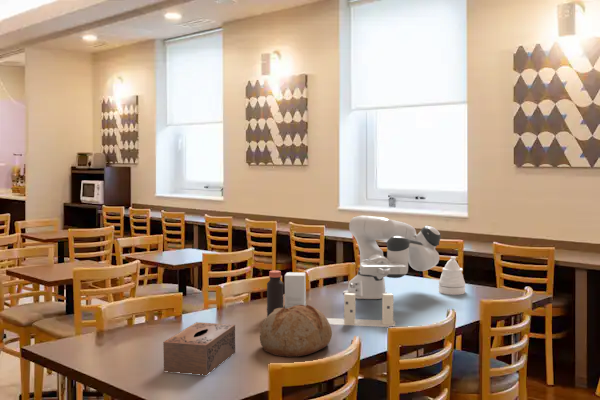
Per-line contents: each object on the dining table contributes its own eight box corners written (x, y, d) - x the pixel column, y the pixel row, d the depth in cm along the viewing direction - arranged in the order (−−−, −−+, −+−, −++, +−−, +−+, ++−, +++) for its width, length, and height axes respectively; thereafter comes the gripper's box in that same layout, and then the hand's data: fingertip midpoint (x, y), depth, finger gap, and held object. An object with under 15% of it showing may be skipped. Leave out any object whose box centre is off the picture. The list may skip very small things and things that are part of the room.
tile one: (382, 322, 271) (382, 293, 270) (392, 322, 271) (392, 293, 270) (383, 324, 268) (383, 295, 267) (393, 324, 268) (393, 295, 267)
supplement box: (306, 304, 307) (306, 272, 306) (304, 308, 298) (304, 275, 297) (286, 304, 308) (286, 271, 307) (284, 308, 299) (284, 275, 298)
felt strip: (305, 324, 271) (305, 323, 270) (308, 318, 280) (308, 317, 280) (394, 328, 264) (394, 327, 264) (395, 321, 274) (395, 320, 274)
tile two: (345, 322, 272) (345, 293, 272) (355, 322, 271) (355, 293, 271) (344, 324, 269) (344, 294, 268) (353, 324, 268) (354, 295, 267)
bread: (297, 334, 255) (297, 295, 254) (345, 346, 240) (345, 304, 239) (247, 349, 236) (246, 307, 235) (296, 363, 220) (296, 318, 219)
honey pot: (467, 294, 328) (468, 258, 327) (441, 294, 328) (441, 258, 327) (461, 289, 341) (462, 254, 339) (436, 289, 341) (437, 254, 340)
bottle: (269, 321, 276) (268, 273, 274) (265, 317, 282) (265, 270, 281) (285, 320, 278) (285, 272, 276) (281, 316, 284) (281, 269, 283)
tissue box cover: (206, 376, 207) (206, 345, 207) (163, 373, 211) (163, 342, 210) (235, 353, 232) (235, 324, 231) (196, 350, 236) (196, 322, 235)
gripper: (404, 274, 294) (410, 279, 281) (358, 274, 294) (361, 279, 280) (404, 259, 294) (410, 264, 280) (358, 259, 293) (362, 264, 279)
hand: (385, 272), depth 280 cm, fingers closed
